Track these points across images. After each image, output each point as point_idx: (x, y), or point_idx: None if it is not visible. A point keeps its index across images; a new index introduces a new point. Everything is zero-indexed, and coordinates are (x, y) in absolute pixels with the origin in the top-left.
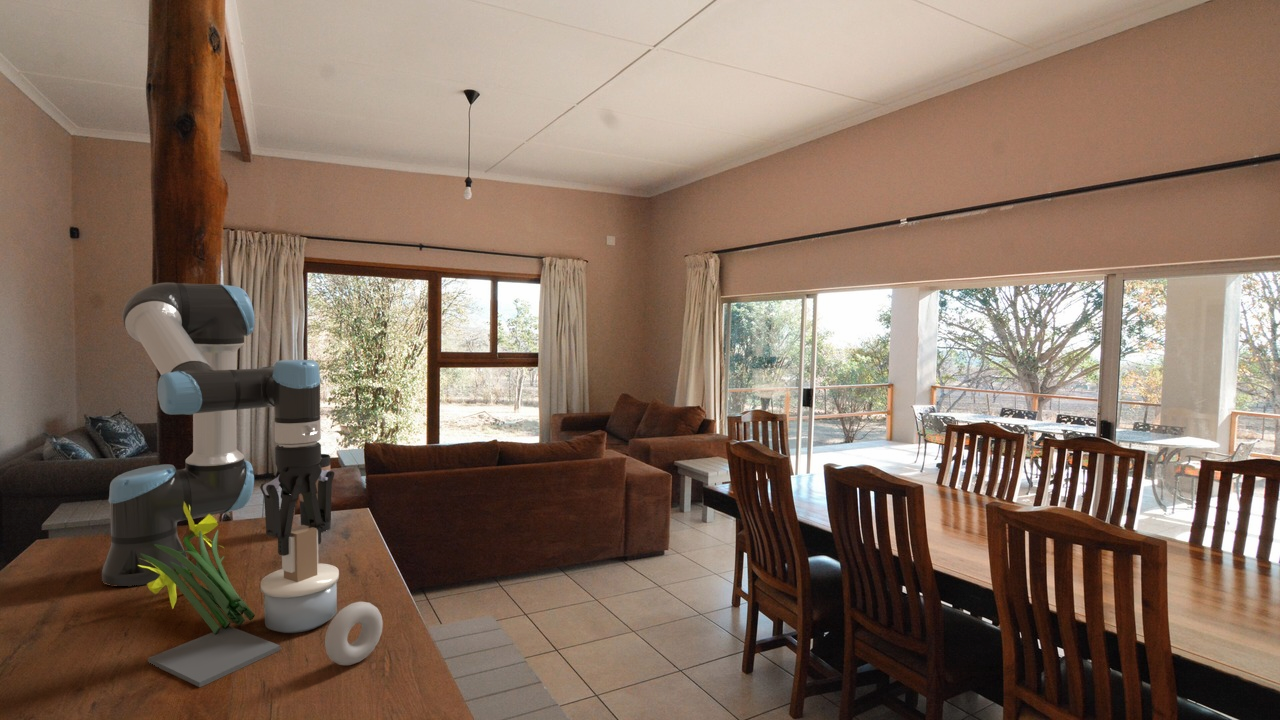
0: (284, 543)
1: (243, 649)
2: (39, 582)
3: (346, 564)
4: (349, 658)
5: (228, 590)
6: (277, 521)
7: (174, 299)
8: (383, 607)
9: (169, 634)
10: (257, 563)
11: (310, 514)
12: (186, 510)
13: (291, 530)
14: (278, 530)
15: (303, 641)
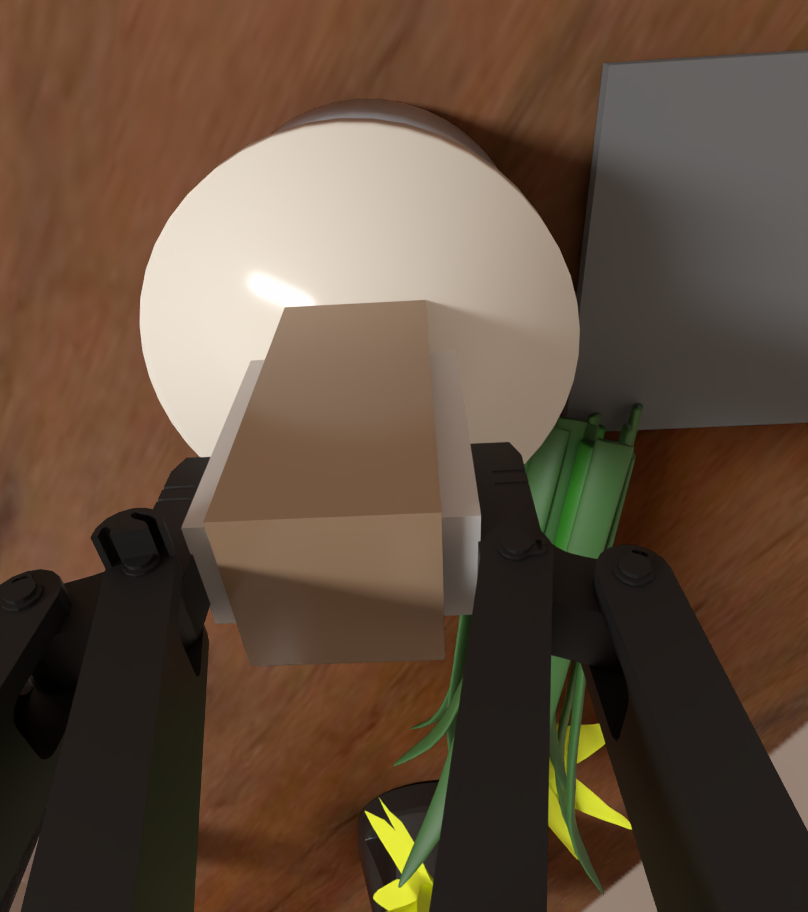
0: (518, 507)
1: (697, 188)
2: (575, 880)
3: (5, 574)
4: None
5: (599, 526)
6: (685, 705)
7: None
8: (9, 36)
9: (657, 532)
10: (233, 735)
11: (184, 714)
12: None
13: (398, 623)
14: (637, 604)
15: (491, 48)
